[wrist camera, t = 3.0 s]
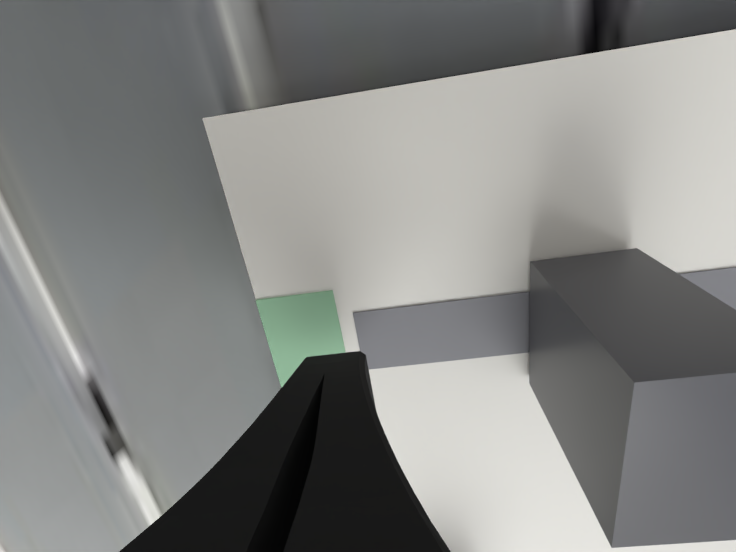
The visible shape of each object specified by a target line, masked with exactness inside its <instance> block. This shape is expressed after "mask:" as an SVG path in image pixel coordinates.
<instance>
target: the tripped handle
mask: <svg viewBox="0 0 736 552" xmlns="http://www.w3.org/2000/svg"><path fill="white" fill-rule="evenodd" d="M529 384H530V386H531V388H532V390H533V392H534V394H535V396H536V398H537V400H538V402H539V404H540V406H541V408H542V410H543V412H544V414H545V416H546V418H547V420H548V422H549V424H550V426H551V428H552V430H553V432H554V434H555V436H556V438H557V440H558V442H559V444H560V446H561V448H562V450H563V452H564V454H565V456H566V458H567V460H568V462H569V464H570V466H571V468H572V470H573V472H574V474H575V476H576V478H577V480H578V482H579V484H580V486H581V488H582V490H583V492H584V494H585V496H586V498H587V500H588V502H589V504H590V506H591V508H592V510H593V512H594V514H595V516H596V518H597V520H598V522H599V524H600V526H601V528H602V530H603V532H604V534H605V536H606V538H607V540H608V542H609V544H610V546H611V548H619V547H634V546H650V545H665V544H681V543H696V542H712V541H727V540H736V310H735V309H734V308H732V307H730V306H729V305H727V304H726V303H724V302H722V301H721V300H719V299H718V298H716V297H714V296H713V295H711V294H710V293H708V292H706V291H705V290H703V289H702V288H700V287H698V286H697V285H695V284H694V283H692V282H690V281H689V280H687V279H686V278H684V277H682V276H681V275H679V274H678V273H676V272H674V271H673V270H671V269H670V268H668V267H666V266H665V265H663V264H662V263H660V262H658V261H657V260H655V259H654V258H652V257H650V256H649V255H647V254H646V253H644V252H642V251H641V250H639V249H638V248H633V249H625V250H617V251H609V252H601V253H593V254H585V255H578V256H570V257H562V258H554V259H546V260H538V261H530V345H529Z"/></svg>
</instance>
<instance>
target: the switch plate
mask: <svg viewBox="0 0 736 552" xmlns="http://www.w3.org/2000/svg"><path fill="white" fill-rule="evenodd" d="M202 119H203V122H204V125H205V129H206V132H207V136H208V139H209V142H210V146H211V149H212V153H213V156H214V159H215V163H216V166H217V169H218V173H219V176H220V180H221V183H222V186H223V190H224V193H225V196H226V200H227V203H228V207H229V210H230V213H231V217H232V220H233V223H234V227H235V230H236V234H237V237H238V240H239V244H240V247H241V251H242V254H243V257H244V261H245V264H246V267H247V271H248V274H249V278H250V281H251V284H252V288H253V291H254V294H255V298H256V304H257V307H258V311H259V314H260V317H261V321H262V324H263V327H264V331H265V334H266V338H267V341H268V344H269V348H270V351H271V354H272V358H273V361H274V365H275V368H276V371H277V375H278V378H279V381H280V385H281V388H282V387H283V386H284V384H285V383H286V382H287V380H288V379H289V378H290V377H291V375H292V374H293V373H294V371H295V370H296V369H297V368H298V366H299V365H300V364H301V363H302V362H303V360H304V359H305V358H306V357H310V356H319V355H328V354H337V353H346V352H355V351H361V352H362V353H364V354H365V355H366V358H367V364H368V369H369V375H370V380H371V385H372V391H373V396H374V402H375V407H376V412H377V415H378V417H379V420H380V423H381V425H382V427H383V430H384V432H385V435H386V437H387V439H388V441H389V444H390V446H391V448H392V450H393V452H394V454H395V456H396V459H397V461H398V463H399V465H400V467H401V469H402V471H403V472H404V474H405V476H406V478H407V480H408V482H409V484H410V485H411V487H412V489H413V491H414V493H415V495H416V496H417V498H418V500H419V501H420V503H421V505H422V507H423V508H424V510H425V512H426V513H427V515H428V517H429V519H430V520H431V522H432V523H433V525H434V527H435V528H436V530H437V531H438V533H439V534H440V536H441V537H442V539H443V540H444V542H445V543H446V545H447V547H448V548H449V550H450V551H451V552H736V540H727V541H712V542H696V543H681V544H665V545H650V546H634V547H619V548H611V546H610V544H609V542H608V540H607V538H606V536H605V534H604V532H603V530H602V528H601V526H600V524H599V522H598V520H597V518H596V516H595V514H594V512H593V510H592V508H591V506H590V504H589V502H588V500H587V498H586V496H585V494H584V492H583V490H582V488H581V486H580V484H579V482H578V480H577V478H576V476H575V474H574V472H573V470H572V468H571V466H570V464H569V462H568V460H567V458H566V456H565V454H564V452H563V450H562V448H561V446H560V444H559V442H558V440H557V438H556V436H555V434H554V432H553V430H552V428H551V426H550V424H549V422H548V420H547V418H546V416H545V414H544V412H543V410H542V408H541V406H540V404H539V402H538V400H537V398H536V396H535V394H534V392H533V390H532V388H531V386H530V384H529V345H530V261H538V260H546V259H554V258H562V257H570V256H578V255H585V254H593V253H601V252H609V251H617V250H625V249H633V248H638V249H639V250H641V251H642V252H644V253H646V254H647V255H649V256H650V257H652V258H654V259H655V260H657V261H658V262H660V263H662V264H663V265H665V266H666V267H668V268H670V269H671V270H673V271H674V272H676V273H678V274H679V275H681V276H682V277H684V278H686V279H687V280H689V281H690V282H692V283H694V284H695V285H697V286H698V287H700V288H702V289H703V290H705V291H706V292H708V293H710V294H711V295H713V296H714V297H716V298H718V299H719V300H721V301H722V302H724V303H726V304H727V305H729V306H730V307H732V308H734V309H735V310H736V29H734V30H728V31H722V32H716V33H710V34H704V35H698V36H692V37H686V38H680V39H674V40H668V41H662V42H656V43H650V44H644V45H638V46H632V47H626V48H620V49H614V50H608V51H602V52H596V53H590V54H584V55H578V56H572V57H566V58H560V59H554V60H548V61H542V62H536V63H530V64H524V65H518V66H512V67H506V68H500V69H494V70H488V71H482V72H476V73H470V74H464V75H458V76H452V77H446V78H440V79H434V80H428V81H422V82H416V83H410V84H404V85H398V86H392V87H386V88H380V89H374V90H368V91H362V92H356V93H350V94H344V95H338V96H332V97H326V98H320V99H314V100H308V101H302V102H296V103H290V104H284V105H278V106H272V107H266V108H260V109H255V110H249V111H243V112H237V113H231V114H225V115H219V116H213V117H207V118H202Z"/></svg>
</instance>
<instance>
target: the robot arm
mask: <svg viewBox="0 0 736 552" xmlns="http://www.w3.org/2000/svg"><path fill="white" fill-rule="evenodd" d="M120 552H451V551H450V550H449V548H448V547H447V545H446V543H445V542H444V540H443V539H442V537H441V536H440V534H439V533H438V531H437V530H436V528H435V527H434V525H433V523H432V522H431V520H430V519H429V517H428V515H427V513H426V512H425V510H424V508H423V507H422V505H421V503H420V501H419V500H418V498H417V496H416V495H415V493H414V491H413V489H412V487H411V485H410V484H409V482H408V480H407V478H406V476H405V474H404V472H403V471H402V469H401V467H400V465H399V463H398V461H397V459H396V456H395V454H394V452H393V450H392V448H391V446H390V444H389V441H388V439H387V437H386V435H385V432H384V430H383V427H382V425H381V423H380V420H379V417H378V415H377V412H376V407H375V402H374V396H373V391H372V385H371V380H370V375H369V369H368V364H367V358H366V355H365V354H364V353H362V352H361V351H355V352H346V353H337V354H328V355H319V356H310V357H306V358H305V359H304V360H303V362H302V363H301V364H300V365H299V366H298V368H297V369H296V370H295V371H294V373H293V374H292V375H291V377H290V378H289V379H288V380H287V382H286V383H285V384H284V386H283V387H282V388H281V389H280V391H279V392H278V393H277V394H276V396H275V397H274V398H273V399H272V401H271V402H270V403H269V404H268V406H267V407H266V408H265V409H264V410H263V412H262V413H261V414H260V415H259V416H258V418H257V419H256V420H255V421H254V422H253V424H252V425H251V426H250V427H249V428H248V429H247V431H246V432H245V433H244V434H243V435H242V436H241V437H240V438H239V439H238V441H237V442H236V443H235V444H234V445H233V446H232V447H231V448H230V449H229V451H228V452H227V453H226V454H225V455H224V456H223V457H222V458H221V459H220V460H219V461H218V462H217V464H216V465H215V466H214V467H213V468H212V469H211V470H210V471H209V472H208V473H207V474H206V475H205V476H204V477H203V478H202V479H201V480H200V481H199V482H198V483H197V484H196V485H194V486H193V487H192V488H191V489H190V490H189V491H188V492H187V493H186V494H185V495H184V496H183V497H182V498H181V499H180V500H179V501H177V502H176V503H175V504H174V505H173V506H172V507H171V508H170V509H169V510H168V511H167V512H165V513H164V514H163V515H162V516H161V517H160V518H159V519H158V520H156V521H155V522H154V523H153V524H152V525H150V526H149V527H148V528H147V529H146V530H144V531H143V532H142V533H141V534H140V535H139V536H137V537H136V538H135V539H134V540H133V541H131V542H130V543H129V544H128V545H127V546H125V547H124V548H123V549H122V550H121V551H120Z"/></svg>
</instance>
